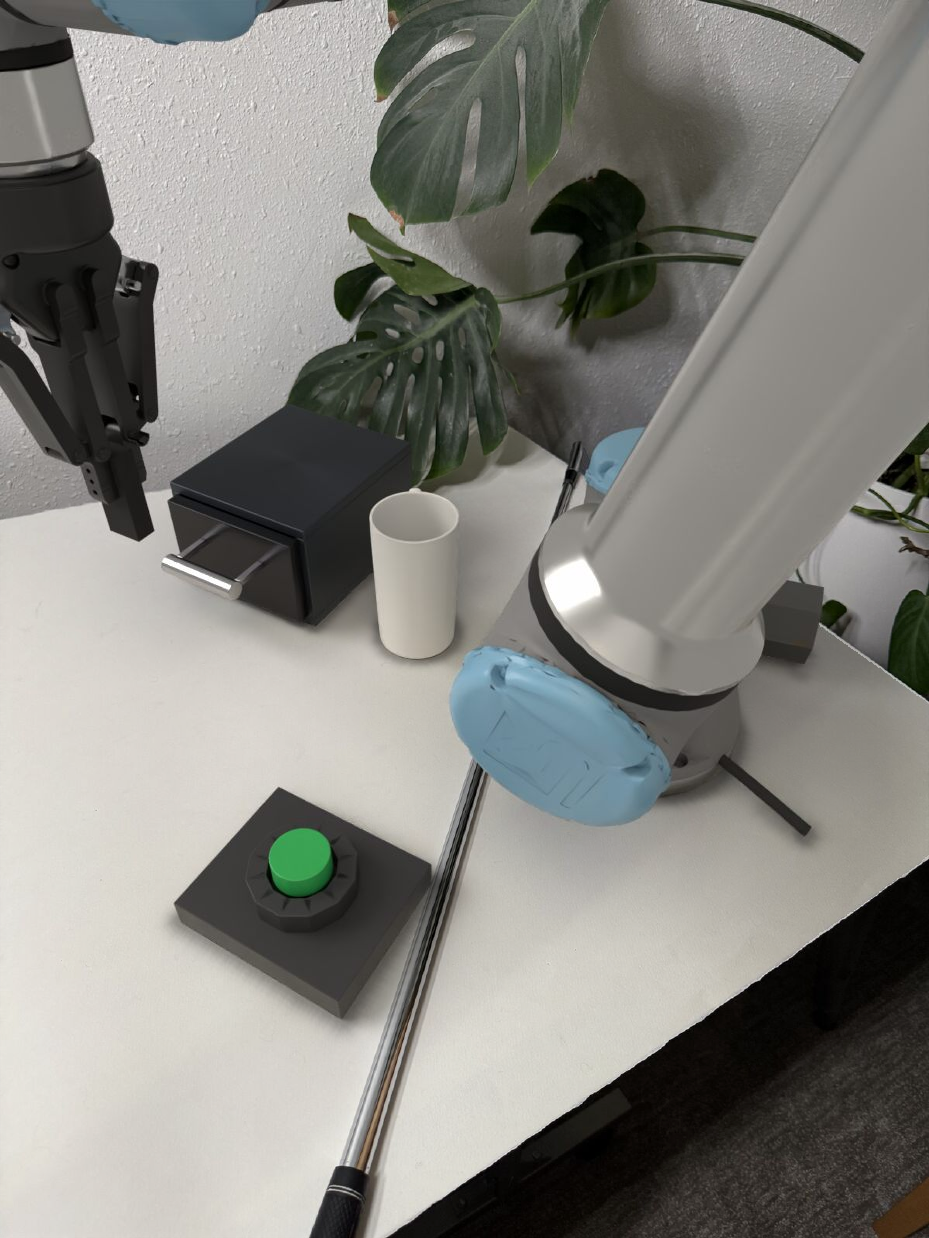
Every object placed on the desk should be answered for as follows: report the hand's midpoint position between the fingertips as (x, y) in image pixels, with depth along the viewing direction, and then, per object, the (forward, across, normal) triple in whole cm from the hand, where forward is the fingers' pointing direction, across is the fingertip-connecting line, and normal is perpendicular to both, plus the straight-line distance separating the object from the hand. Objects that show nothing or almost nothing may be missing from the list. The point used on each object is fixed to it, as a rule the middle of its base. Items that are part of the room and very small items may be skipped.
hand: (132, 530), depth 61 cm
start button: (+11, +11, +21) cm, 26 cm away
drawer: (+13, -14, -1) cm, 19 cm away
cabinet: (+14, -18, -1) cm, 23 cm away
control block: (+14, +11, +21) cm, 28 cm away
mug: (+14, -15, +13) cm, 25 cm away
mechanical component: (+12, -23, +35) cm, 44 cm away
